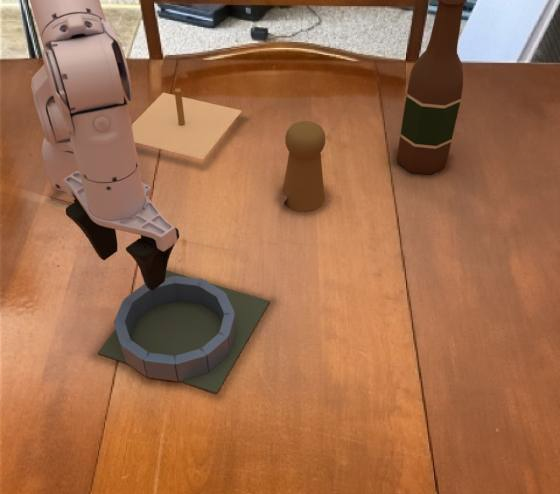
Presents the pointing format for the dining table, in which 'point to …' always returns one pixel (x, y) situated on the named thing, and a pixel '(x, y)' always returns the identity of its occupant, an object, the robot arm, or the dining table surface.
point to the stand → (183, 124)
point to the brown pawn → (304, 167)
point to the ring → (186, 362)
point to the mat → (191, 332)
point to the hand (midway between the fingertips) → (132, 269)
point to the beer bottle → (433, 95)
